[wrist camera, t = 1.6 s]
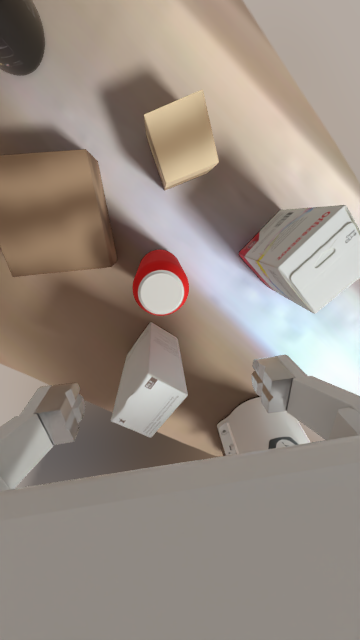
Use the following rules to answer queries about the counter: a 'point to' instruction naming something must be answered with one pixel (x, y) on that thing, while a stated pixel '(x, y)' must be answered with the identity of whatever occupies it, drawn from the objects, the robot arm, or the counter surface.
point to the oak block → (181, 140)
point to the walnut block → (53, 213)
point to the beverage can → (160, 283)
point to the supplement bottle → (20, 37)
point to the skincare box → (150, 382)
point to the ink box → (307, 254)
